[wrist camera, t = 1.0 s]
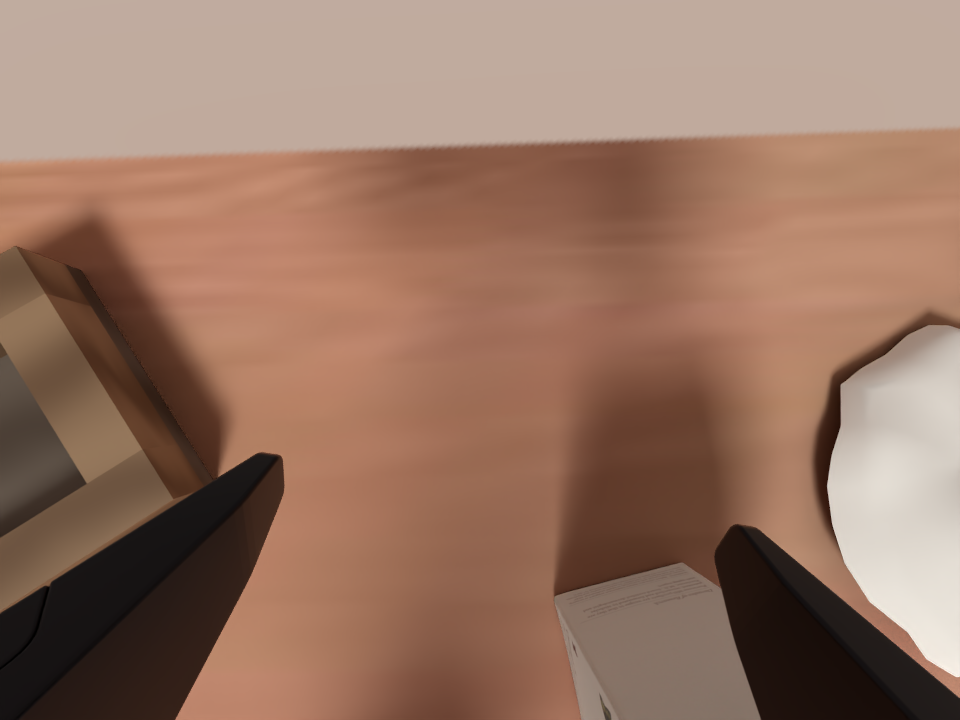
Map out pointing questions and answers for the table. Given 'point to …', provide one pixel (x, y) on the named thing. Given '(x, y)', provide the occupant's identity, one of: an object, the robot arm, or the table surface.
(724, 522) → the table surface
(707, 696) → the supplement box
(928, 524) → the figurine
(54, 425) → the walnut pocket block
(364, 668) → the table surface
